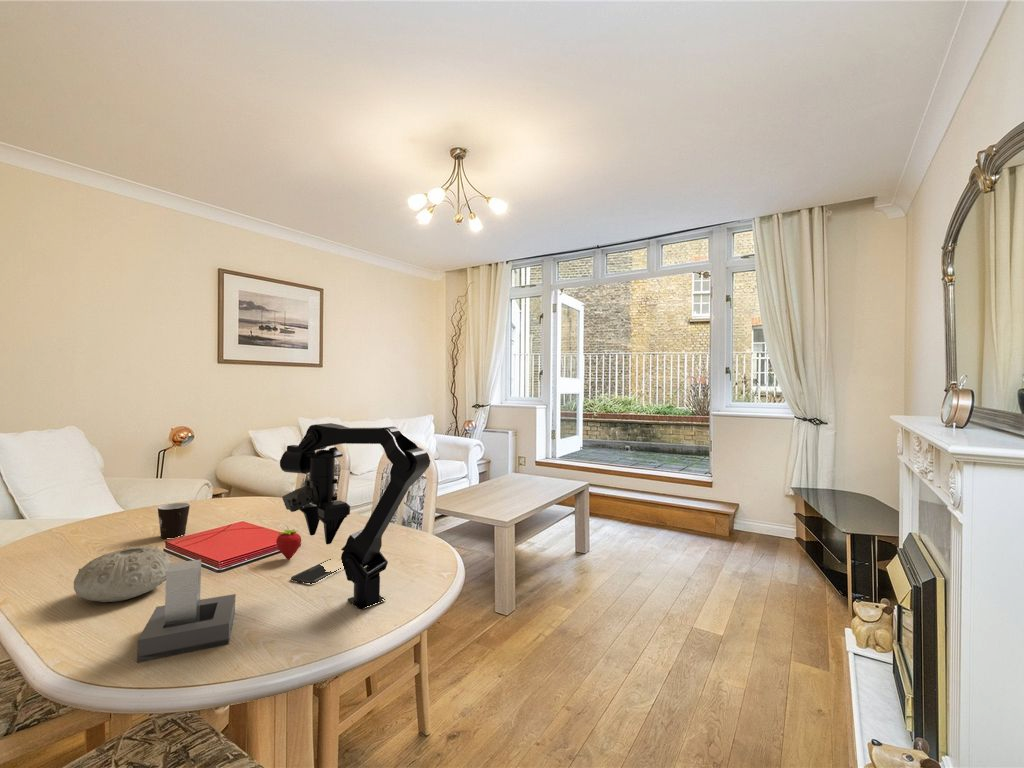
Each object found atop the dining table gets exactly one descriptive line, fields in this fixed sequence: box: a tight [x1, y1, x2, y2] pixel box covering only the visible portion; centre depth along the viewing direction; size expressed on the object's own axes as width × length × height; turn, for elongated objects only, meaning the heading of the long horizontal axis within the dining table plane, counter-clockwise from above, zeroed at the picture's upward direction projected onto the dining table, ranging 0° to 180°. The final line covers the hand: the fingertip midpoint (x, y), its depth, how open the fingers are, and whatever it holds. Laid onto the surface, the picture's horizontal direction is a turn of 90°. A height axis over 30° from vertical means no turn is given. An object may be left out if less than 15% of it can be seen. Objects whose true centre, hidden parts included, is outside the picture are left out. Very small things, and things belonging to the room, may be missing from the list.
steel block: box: [164, 558, 202, 628], centre depth 90 cm, size 5×5×13 cm
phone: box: [290, 558, 341, 584], centre depth 123 cm, size 8×1×15 cm
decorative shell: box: [73, 545, 172, 603], centre depth 108 cm, size 18×18×10 cm
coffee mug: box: [157, 502, 191, 540], centre depth 149 cm, size 12×9×10 cm
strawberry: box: [275, 525, 302, 560], centre depth 132 cm, size 6×8×10 cm
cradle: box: [136, 593, 237, 663], centre depth 90 cm, size 14×14×4 cm
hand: (320, 539), depth 110 cm, fingers open, 9 cm apart
